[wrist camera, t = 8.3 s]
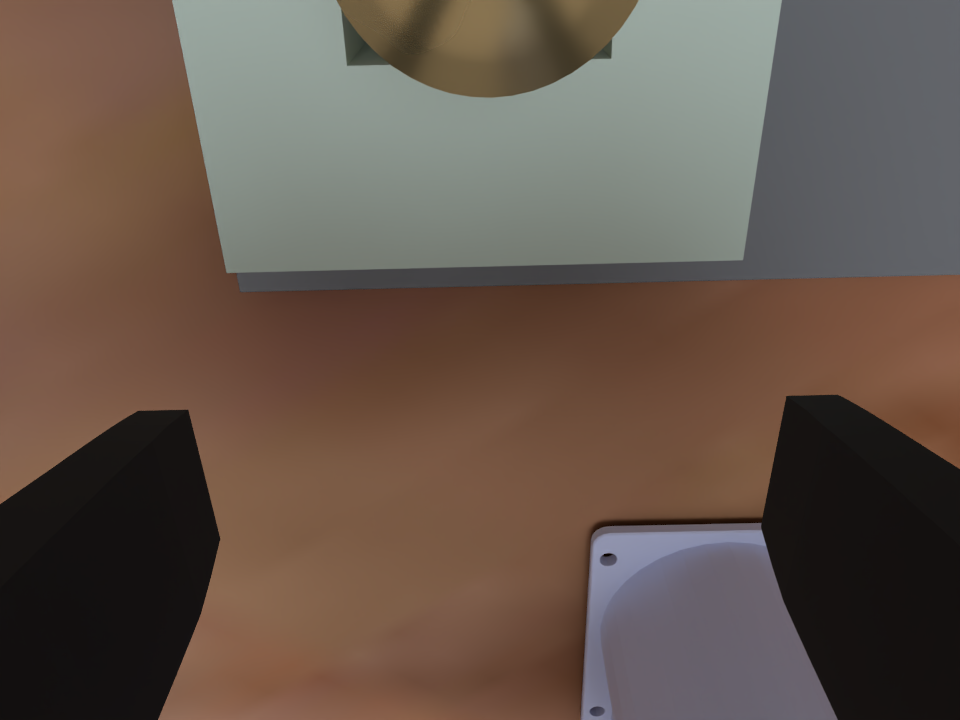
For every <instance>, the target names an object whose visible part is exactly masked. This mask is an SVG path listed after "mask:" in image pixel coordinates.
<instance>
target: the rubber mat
mask: <svg viewBox="0 0 960 720" xmlns="http://www.w3.org/2000/svg"><path fill="white" fill-rule="evenodd" d="M920 275H960V0H782V3H781V9H780V16H779V23H778V30H777V36H776V43H775V50H774V56H773V63H772V70H771V76H770V83H769V90H768V96H767V103H766V110H765V116H764V123H763V130H762V137H761V143H760V150H759V157H758V163H757V170H756V177H755V183H754V190H753V197H752V203H751V210H750V217H749V223H748V230H747V237H746V244H745V250H744V257H743V260H732V261H692V262H651V263H610V264H570V265H529V266H489V267H448V268H408V269H367V270H327V271H286V272H246V273H237V278H238V284H239V289H240V292H265V291H306V290H347V289H388V288H429V287H470V286H511V285H551V284H592V283H633V282H674V281H715V280H756V279H797V278H838V277H879V276H920Z"/></svg>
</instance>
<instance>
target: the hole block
mask: <svg viewBox="0 0 960 720" xmlns="http://www.w3.org/2000/svg"><path fill="white" fill-rule="evenodd" d="M172 1H173V6H174V11H175V16H176V21H177V26H178V32H179V37H180V42H181V47H182V52H183V57H184V62H185V67H186V72H187V77H188V82H189V87H190V92H191V97H192V102H193V107H194V112H195V117H196V122H197V127H198V132H199V137H200V142H201V147H202V152H203V157H204V162H205V167H206V172H207V177H208V182H209V187H210V192H211V197H212V202H213V207H214V212H215V217H216V222H217V227H218V232H219V237H220V242H221V247H222V252H223V257H224V262H225V267H226V273H246V272H286V271H327V270H367V269H408V268H448V267H489V266H529V265H570V264H610V263H651V262H692V261H732V260H743V257H744V250H745V244H746V237H747V230H748V223H749V217H750V210H751V203H752V197H753V190H754V183H755V177H756V170H757V163H758V157H759V150H760V143H761V137H762V130H763V123H764V116H765V110H766V103H767V96H768V90H769V83H770V76H771V70H772V63H773V56H774V50H775V43H776V36H777V30H778V23H779V16H780V9H781V3H782V0H639V1H638V3H637V5H636V7H635V8H634V10H633V11H632V13H631V14H630V16H629V17H628V19H627V20H626V22H625V23H624V25H623V26H622V27H621V29H620V30H619V31H618V32H617V33H616V35H615V36H614V37H613V38H612V39H611V40H610V42H609V43H608V44H607V45H606V46H605V47H604V48H603V49H602V50H601V51H599V52H598V53H597V54H596V55H595V56H594V57H593V58H592V59H591V60H590V61H588V62H587V63H585V64H584V65H583V66H581V67H580V68H578V69H577V70H576V71H574V72H573V73H571V74H569V75H567V76H566V77H564V78H562V79H560V80H558V81H556V82H554V83H552V84H550V85H547V86H544V87H542V88H539V89H537V90H534V91H530V92H526V93H522V94H518V95H513V96H504V97H494V98H486V97H468V96H463V95H457V94H451V93H448V92H444V91H441V90H438V89H435V88H432V87H429V86H427V85H425V84H423V83H421V82H418V81H416V80H414V79H412V78H410V77H409V76H407V75H405V74H404V73H402V72H401V71H399V70H398V69H396V68H394V67H393V66H392V65H390V64H389V63H388V62H387V61H386V60H384V59H383V58H382V57H381V56H379V55H378V54H377V53H376V52H375V51H374V50H373V49H372V48H371V47H370V46H369V45H368V44H367V43H366V42H365V41H364V40H363V38H362V37H361V36H360V35H359V34H358V33H357V31H356V30H355V29H354V27H353V26H352V24H351V23H350V22H349V20H348V19H347V18H346V16H345V15H344V13H343V11H342V9H341V8H340V6H339V4H338V2H337V1H336V0H172Z"/></svg>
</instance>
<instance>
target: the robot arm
mask: <svg viewBox="0 0 960 720" xmlns="http://www.w3.org/2000/svg"><path fill="white" fill-rule="evenodd" d="M219 541H220V536H219V532H218V528H217V524H216V520H215V516H214V512H213V508H212V504H211V500H210V496H209V492H208V488H207V484H206V480H205V476H204V472H203V468H202V464H201V459H200V455H199V451H198V447H197V443H196V439H195V435H194V431H193V427H192V423H191V419H190V415H189V411H188V410H158V411H137V412H136V413H134V414H132V415H130V416H129V417H127V418H125V419H124V420H122V421H120V422H119V423H117V424H116V425H114V426H113V427H111V428H110V429H108V430H107V431H105V432H104V433H102V434H101V435H99V436H98V437H96V438H95V439H93V440H92V441H90V442H89V443H88V444H86V445H85V446H83V447H82V448H80V449H79V450H77V451H76V452H75V453H73V454H72V455H70V456H69V457H67V458H66V459H65V460H63V461H62V462H60V463H59V464H58V465H56V466H55V467H53V468H52V469H50V470H49V471H47V472H46V473H45V474H43V475H42V476H40V477H39V478H37V479H36V480H35V481H33V482H32V483H30V484H29V485H27V486H26V487H24V488H23V489H22V490H20V491H19V492H17V493H16V494H14V495H13V496H11V497H10V498H9V499H7V500H6V501H4V502H3V503H1V504H0V720H158V718H159V716H160V713H161V711H162V708H163V706H164V704H165V701H166V699H167V696H168V694H169V692H170V689H171V687H172V684H173V682H174V679H175V677H176V675H177V672H178V670H179V667H180V665H181V662H182V660H183V657H184V655H185V652H186V650H187V647H188V645H189V642H190V640H191V637H192V635H193V632H194V630H195V627H196V625H197V622H198V620H199V617H200V614H201V611H202V608H203V604H204V600H205V597H206V593H207V590H208V586H209V582H210V579H211V574H212V570H213V566H214V562H215V558H216V554H217V550H218V546H219ZM607 553H612V554H613V555H611V556H608V557H604V556H602V555H604V554H607ZM580 720H960V469H959V468H957V467H955V466H954V465H952V464H951V463H949V462H947V461H946V460H944V459H943V458H941V457H940V456H938V455H936V454H935V453H933V452H932V451H930V450H928V449H927V448H925V447H924V446H922V445H921V444H919V443H917V442H916V441H914V440H913V439H911V438H910V437H908V436H906V435H905V434H903V433H902V432H900V431H899V430H897V429H895V428H894V427H892V426H891V425H889V424H887V423H886V422H884V421H883V420H881V419H879V418H878V417H876V416H875V415H873V414H871V413H870V412H868V411H866V410H865V409H863V408H861V407H859V406H858V405H856V404H854V403H852V402H851V401H849V400H847V399H845V398H843V397H841V396H839V395H811V396H786V402H785V407H784V412H783V417H782V422H781V427H780V432H779V437H778V442H777V447H776V452H775V457H774V463H773V468H772V473H771V478H770V483H769V488H768V493H767V498H766V503H765V508H764V513H763V518H762V523H737V524H690V525H643V526H607V527H602V528H600V529H598V530H596V531H595V532H594V533H593V535H592V538H591V548H590V565H589V582H588V599H587V617H586V634H585V651H584V668H583V685H582V702H581V719H580Z"/></svg>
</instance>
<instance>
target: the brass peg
mask: <svg viewBox="0 0 960 720" xmlns="http://www.w3.org/2000/svg"><path fill="white" fill-rule="evenodd" d="M336 1H337V2H338V4H339V6H340V8H341V9H342V11H343V13H344V15H345V16H346V18H347V19H348V20H349V22H350V23H351V24H352V26H353V27H354V29H355V30H356V31H357V33H358V34H359V35H360V36H361V37H362V38H363V40H364V41H365V42H366V43H367V44H368V45H369V46H370V47H371V48H372V49H373V50H374V51H375V52H376V53H377V54H378V55H379V56H381V57H382V58H383V59H384V60H386V61H387V62H388V63H389V64H390V65H392V66H393V67H394V68H396V69H398V70H399V71H401V72H402V73H404V74H405V75H407V76H409V77H410V78H412V79H414V80H416V81H418V82H421V83H423V84H425V85H427V86H429V87H432V88H435V89H438V90H441V91H444V92H448V93H451V94H457V95H463V96H468V97H486V98H494V97H504V96H513V95H518V94H522V93H526V92H530V91H534V90H537V89H539V88H542V87H544V86H547V85H550V84H552V83H554V82H556V81H558V80H560V79H562V78H564V77H566V76H567V75H569V74H571V73H573V72H574V71H576V70H577V69H578V68H580V67H581V66H583V65H584V64H585V63H587V62H588V61H590V60H591V59H592V58H593V57H594V56H595V55H596V54H597V53H598V52H599V51H601V50H602V49H603V48H604V47H605V46H606V45H607V44H608V43H609V42H610V40H611V39H612V38H613V37H614V36H615V35H616V33H617V32H618V31H619V30H620V29H621V27H622V26H623V25H624V23H625V22H626V20H627V19H628V17H629V16H630V14H631V13H632V11H633V10H634V8H635V7H636V5H637V3H638V1H639V0H336Z"/></svg>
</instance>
